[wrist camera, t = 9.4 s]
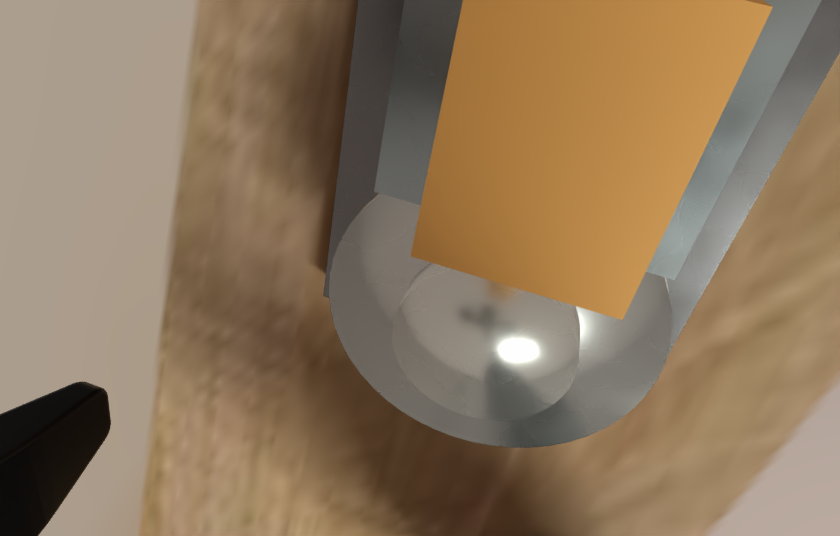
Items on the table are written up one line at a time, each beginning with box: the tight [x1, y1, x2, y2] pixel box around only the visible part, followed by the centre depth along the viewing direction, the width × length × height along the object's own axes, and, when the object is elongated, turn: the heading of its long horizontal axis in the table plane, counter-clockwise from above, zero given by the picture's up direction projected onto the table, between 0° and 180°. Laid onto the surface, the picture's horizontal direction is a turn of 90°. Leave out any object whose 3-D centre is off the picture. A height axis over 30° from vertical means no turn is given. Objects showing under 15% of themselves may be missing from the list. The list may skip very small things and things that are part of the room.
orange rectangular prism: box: [410, 0, 773, 320], centre depth 11 cm, size 3×4×10 cm
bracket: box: [323, 0, 840, 448], centre depth 15 cm, size 12×20×6 cm, turn 169°
